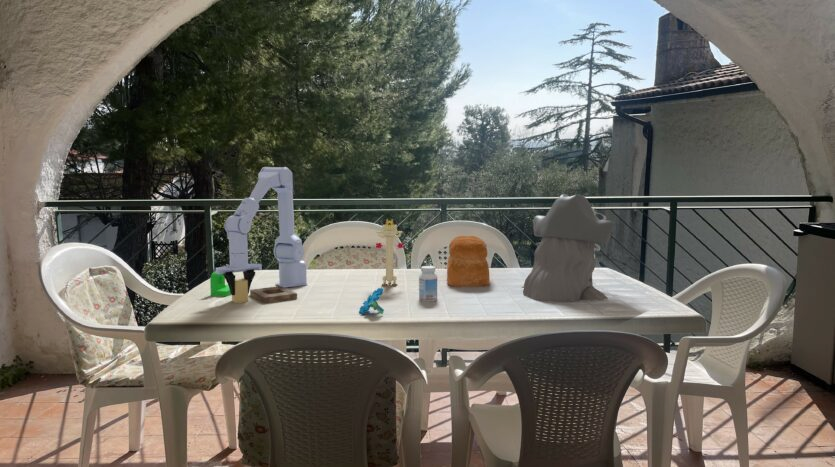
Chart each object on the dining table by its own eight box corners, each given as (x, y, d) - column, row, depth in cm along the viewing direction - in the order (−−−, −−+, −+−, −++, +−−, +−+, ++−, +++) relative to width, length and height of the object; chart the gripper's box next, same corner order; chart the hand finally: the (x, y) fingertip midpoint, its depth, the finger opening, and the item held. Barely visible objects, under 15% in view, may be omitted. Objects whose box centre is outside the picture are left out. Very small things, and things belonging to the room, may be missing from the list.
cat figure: (375, 287, 217) (375, 219, 214) (376, 282, 225) (376, 217, 222) (403, 287, 217) (403, 219, 214) (403, 282, 226) (403, 217, 223)
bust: (631, 295, 207) (636, 194, 203) (585, 312, 183) (589, 198, 178) (545, 281, 230) (548, 190, 226) (494, 295, 205) (496, 194, 201)
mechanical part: (226, 297, 201) (225, 273, 200) (210, 296, 203) (210, 272, 202) (245, 289, 213) (245, 267, 212) (230, 288, 214) (230, 266, 213)
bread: (447, 288, 216) (447, 241, 214) (446, 275, 242) (447, 233, 240) (490, 289, 216) (491, 242, 214) (485, 275, 242) (486, 233, 240)
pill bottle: (439, 299, 199) (439, 266, 198) (434, 303, 194) (434, 269, 192) (422, 297, 201) (422, 264, 200) (416, 301, 196) (416, 267, 194)
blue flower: (356, 306, 184) (378, 282, 185) (370, 318, 186) (392, 295, 186) (358, 315, 174) (381, 290, 174) (373, 328, 175) (396, 303, 175)
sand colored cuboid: (244, 299, 198) (243, 278, 197) (248, 301, 194) (247, 280, 194) (232, 300, 195) (231, 279, 195) (236, 303, 192) (235, 281, 191)
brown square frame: (281, 291, 209) (280, 286, 209) (297, 299, 198) (297, 293, 198) (250, 295, 203) (250, 289, 203) (265, 303, 192) (265, 297, 191)
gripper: (255, 249, 200) (256, 288, 202) (212, 252, 192) (213, 294, 194) (263, 251, 195) (264, 292, 196) (219, 255, 186) (220, 298, 188)
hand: (239, 293), depth 195 cm, fingers closed on sand colored cuboid, 4 cm apart
